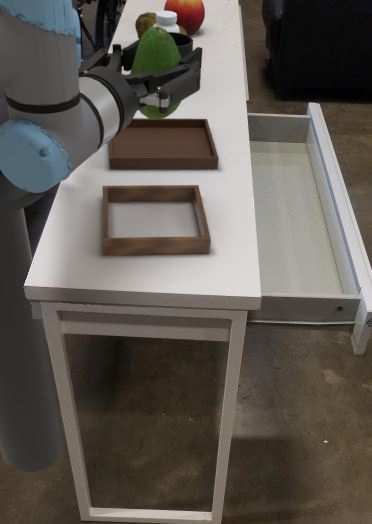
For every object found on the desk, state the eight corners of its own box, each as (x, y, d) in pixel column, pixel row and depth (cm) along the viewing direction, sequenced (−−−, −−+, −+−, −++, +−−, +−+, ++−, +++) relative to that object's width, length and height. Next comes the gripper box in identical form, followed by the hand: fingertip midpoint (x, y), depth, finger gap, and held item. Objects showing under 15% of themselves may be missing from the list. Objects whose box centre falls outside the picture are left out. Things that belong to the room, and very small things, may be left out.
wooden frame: (104, 255, 84) (103, 240, 82) (103, 199, 95) (102, 185, 93) (209, 253, 86) (211, 239, 84) (197, 198, 96) (198, 184, 94)
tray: (110, 169, 101) (109, 158, 100) (108, 128, 112) (108, 118, 111) (217, 169, 103) (218, 157, 102) (206, 129, 114) (207, 118, 113)
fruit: (155, 28, 155) (156, -16, 147) (189, 23, 159) (191, -20, 152) (177, 40, 149) (178, -5, 141) (211, 35, 153) (215, -10, 146)
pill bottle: (179, 72, 134) (181, 18, 126) (152, 72, 133) (152, 17, 125) (177, 63, 138) (179, 9, 130) (151, 62, 137) (151, 9, 129)
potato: (188, 56, 141) (189, 19, 136) (135, 54, 140) (135, 17, 134) (186, 44, 147) (187, 8, 141) (135, 43, 146) (134, 6, 140)
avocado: (129, 127, 83) (127, 34, 74) (131, 105, 88) (130, 15, 79) (184, 130, 83) (189, 37, 74) (183, 107, 88) (188, 18, 80)
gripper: (25, 122, 74) (110, 66, 88) (171, 160, 69) (236, 94, 84) (15, 59, 68) (107, 10, 83) (173, 94, 64) (242, 36, 78)
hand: (172, 52), depth 83 cm, fingers closed on avocado, 8 cm apart
